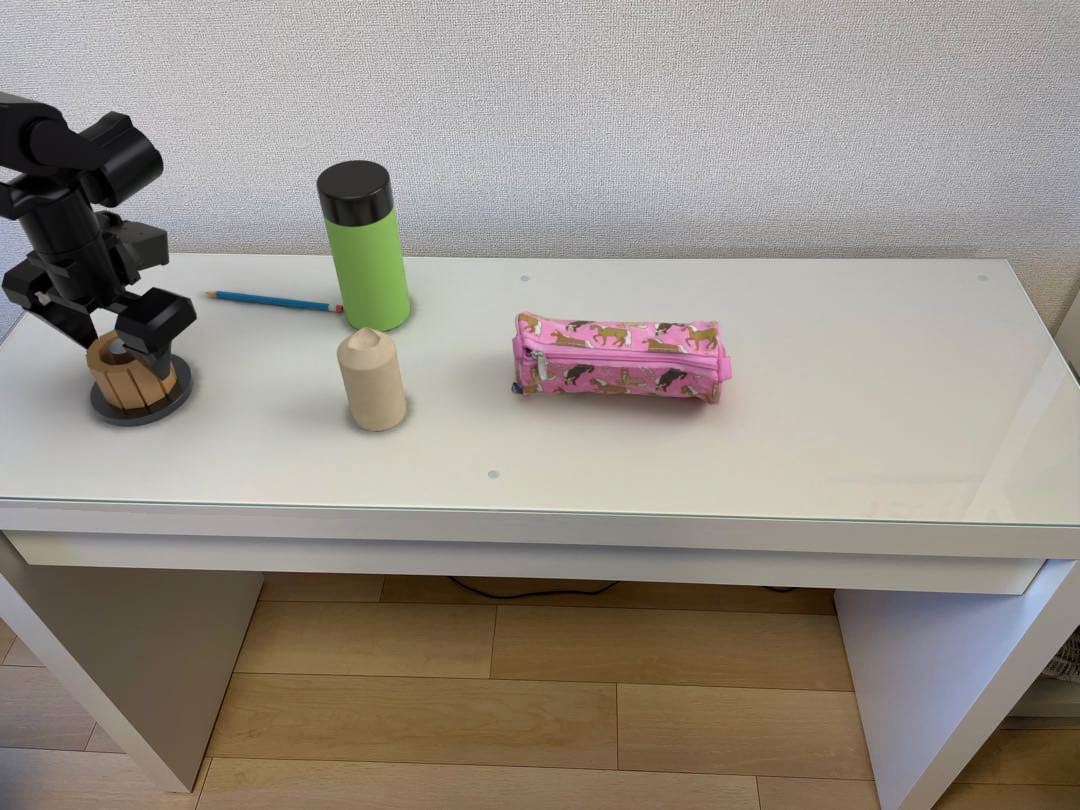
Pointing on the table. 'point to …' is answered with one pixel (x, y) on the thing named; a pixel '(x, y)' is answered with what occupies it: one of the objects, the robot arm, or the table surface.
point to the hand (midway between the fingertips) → (130, 363)
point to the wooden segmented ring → (125, 377)
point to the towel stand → (147, 412)
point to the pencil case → (619, 357)
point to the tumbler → (365, 243)
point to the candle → (372, 379)
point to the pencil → (276, 301)
